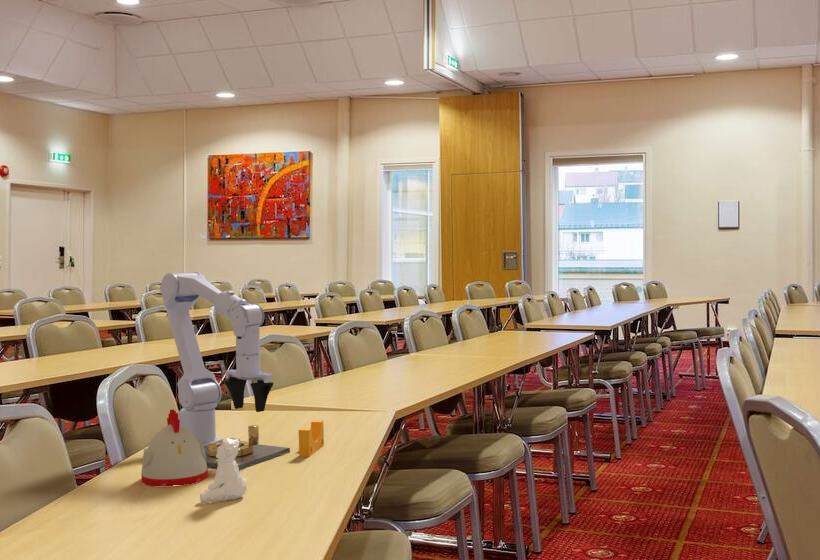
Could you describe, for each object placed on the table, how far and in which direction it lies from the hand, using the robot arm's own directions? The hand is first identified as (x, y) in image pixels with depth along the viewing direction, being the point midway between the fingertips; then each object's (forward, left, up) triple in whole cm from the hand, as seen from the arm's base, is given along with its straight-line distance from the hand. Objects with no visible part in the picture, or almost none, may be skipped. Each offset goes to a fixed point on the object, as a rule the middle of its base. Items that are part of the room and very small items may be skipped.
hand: (249, 409), depth 222 cm
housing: (-1, -6, -10) cm, 12 cm away
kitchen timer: (+1, -27, -11) cm, 29 cm away
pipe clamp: (+12, +7, -11) cm, 18 cm away
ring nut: (-1, -6, -9) cm, 11 cm away
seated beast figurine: (+21, -34, -11) cm, 41 cm away
